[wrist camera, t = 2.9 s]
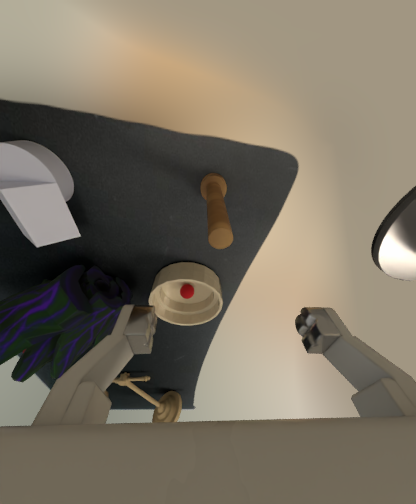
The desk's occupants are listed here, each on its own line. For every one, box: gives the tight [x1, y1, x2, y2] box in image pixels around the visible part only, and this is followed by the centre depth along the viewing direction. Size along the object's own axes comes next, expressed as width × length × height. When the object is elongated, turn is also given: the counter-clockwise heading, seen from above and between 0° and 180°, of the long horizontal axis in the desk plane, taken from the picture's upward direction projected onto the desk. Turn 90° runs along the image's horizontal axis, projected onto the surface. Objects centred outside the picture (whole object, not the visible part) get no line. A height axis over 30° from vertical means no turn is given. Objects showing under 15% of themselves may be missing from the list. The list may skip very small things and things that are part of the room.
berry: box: [180, 284, 194, 299], centre depth 40 cm, size 3×3×3 cm
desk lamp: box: [104, 372, 182, 423], centre depth 73 cm, size 15×35×40 cm
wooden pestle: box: [200, 173, 233, 249], centre depth 22 cm, size 4×4×16 cm
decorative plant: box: [0, 265, 133, 382], centre depth 35 cm, size 21×26×30 cm
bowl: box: [149, 262, 223, 325], centre depth 39 cm, size 15×15×6 cm
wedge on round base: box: [0, 140, 81, 247], centre depth 25 cm, size 9×7×13 cm
